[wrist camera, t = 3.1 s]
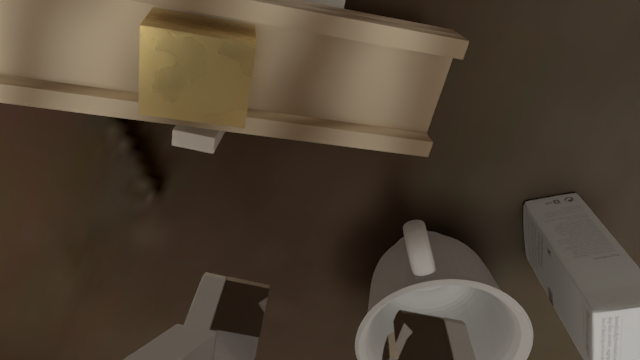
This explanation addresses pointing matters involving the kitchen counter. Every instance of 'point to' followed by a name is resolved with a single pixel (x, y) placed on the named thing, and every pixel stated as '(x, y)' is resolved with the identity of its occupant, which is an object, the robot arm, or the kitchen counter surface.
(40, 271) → the kitchen counter surface
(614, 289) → the skincare box
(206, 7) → the beam
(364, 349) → the teacup
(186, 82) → the tan rectangular block
